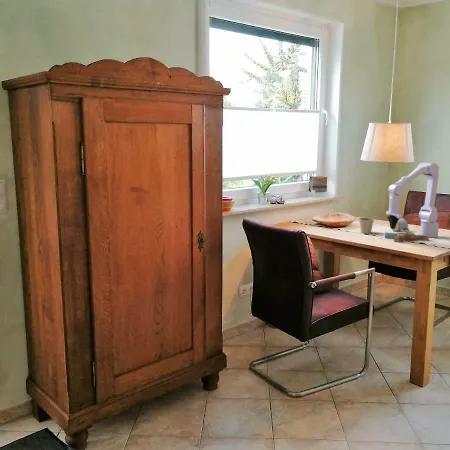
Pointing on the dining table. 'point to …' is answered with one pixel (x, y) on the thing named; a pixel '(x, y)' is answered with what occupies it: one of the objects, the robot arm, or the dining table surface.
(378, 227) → the dining table surface
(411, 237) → the brown irregular flat piece
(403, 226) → the ceramic mug
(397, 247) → the dining table surface
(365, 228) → the flower pot
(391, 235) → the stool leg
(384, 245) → the dining table surface
